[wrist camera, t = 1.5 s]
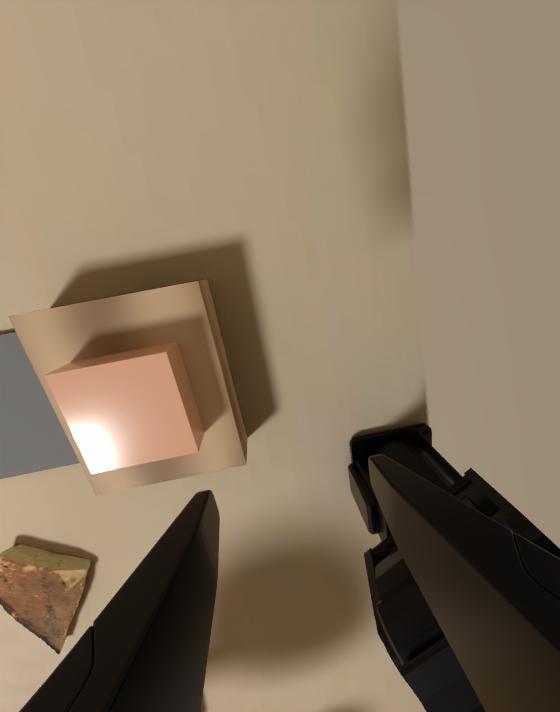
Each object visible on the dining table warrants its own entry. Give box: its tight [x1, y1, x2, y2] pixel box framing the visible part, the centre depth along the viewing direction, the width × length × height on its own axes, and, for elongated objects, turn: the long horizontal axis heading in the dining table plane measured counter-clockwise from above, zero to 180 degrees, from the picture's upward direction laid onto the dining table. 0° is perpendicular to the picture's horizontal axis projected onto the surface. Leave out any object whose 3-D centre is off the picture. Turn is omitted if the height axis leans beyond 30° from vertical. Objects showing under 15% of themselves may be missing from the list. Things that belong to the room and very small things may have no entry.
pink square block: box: [44, 342, 205, 474], centre depth 15 cm, size 6×6×2 cm
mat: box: [0, 332, 80, 479], centre depth 19 cm, size 9×10×1 cm
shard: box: [0, 544, 91, 654], centre depth 24 cm, size 11×8×2 cm
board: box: [8, 279, 247, 496], centre depth 18 cm, size 10×12×3 cm
